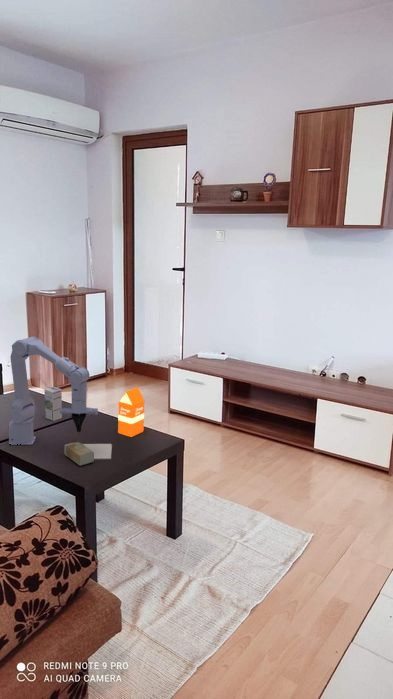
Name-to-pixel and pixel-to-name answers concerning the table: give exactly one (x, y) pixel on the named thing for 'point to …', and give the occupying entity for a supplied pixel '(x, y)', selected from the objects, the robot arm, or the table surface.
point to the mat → (100, 450)
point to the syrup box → (53, 403)
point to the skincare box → (79, 453)
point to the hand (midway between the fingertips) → (78, 431)
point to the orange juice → (131, 413)
